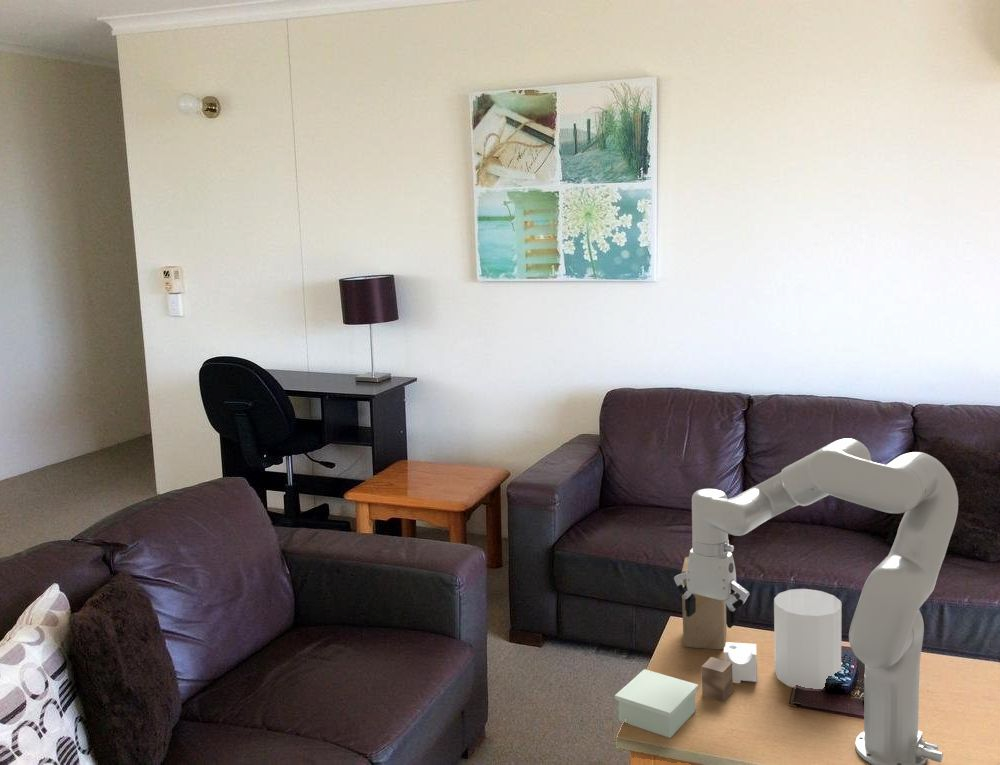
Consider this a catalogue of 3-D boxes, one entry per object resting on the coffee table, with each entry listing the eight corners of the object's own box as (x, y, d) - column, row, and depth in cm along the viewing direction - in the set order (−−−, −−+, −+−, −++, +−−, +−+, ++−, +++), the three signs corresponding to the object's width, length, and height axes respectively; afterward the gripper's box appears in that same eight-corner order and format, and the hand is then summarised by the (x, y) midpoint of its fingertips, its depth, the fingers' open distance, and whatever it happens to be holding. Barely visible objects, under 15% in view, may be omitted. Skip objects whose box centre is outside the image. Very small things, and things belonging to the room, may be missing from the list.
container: (797, 696, 190) (796, 620, 187) (762, 666, 204) (761, 594, 201) (855, 685, 194) (855, 609, 190) (817, 655, 207) (817, 584, 204)
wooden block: (683, 647, 215) (681, 571, 212) (686, 629, 225) (684, 556, 221) (724, 650, 212) (723, 573, 209) (726, 632, 222) (725, 558, 218)
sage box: (698, 710, 187) (698, 684, 186) (671, 740, 177) (670, 713, 176) (645, 693, 195) (644, 669, 194) (615, 721, 185) (614, 695, 184)
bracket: (756, 685, 196) (756, 654, 195) (724, 682, 198) (723, 652, 197) (756, 657, 208) (756, 628, 207) (725, 655, 210) (725, 626, 209)
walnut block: (732, 691, 194) (732, 662, 193) (723, 701, 190) (722, 672, 189) (711, 685, 197) (711, 656, 196) (702, 695, 193) (701, 666, 192)
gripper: (755, 548, 185) (755, 623, 188) (682, 533, 196) (683, 604, 199) (740, 560, 180) (741, 636, 183) (666, 544, 190) (667, 616, 194)
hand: (711, 619), depth 191 cm, fingers open, 9 cm apart
